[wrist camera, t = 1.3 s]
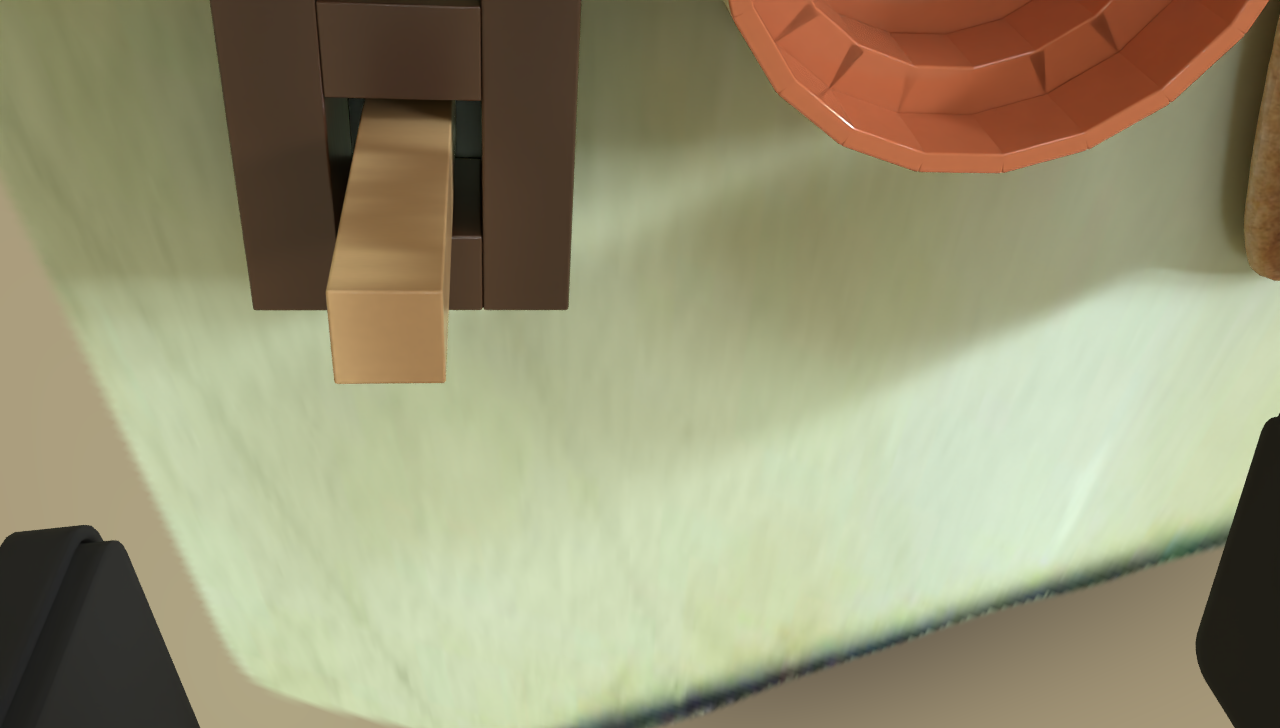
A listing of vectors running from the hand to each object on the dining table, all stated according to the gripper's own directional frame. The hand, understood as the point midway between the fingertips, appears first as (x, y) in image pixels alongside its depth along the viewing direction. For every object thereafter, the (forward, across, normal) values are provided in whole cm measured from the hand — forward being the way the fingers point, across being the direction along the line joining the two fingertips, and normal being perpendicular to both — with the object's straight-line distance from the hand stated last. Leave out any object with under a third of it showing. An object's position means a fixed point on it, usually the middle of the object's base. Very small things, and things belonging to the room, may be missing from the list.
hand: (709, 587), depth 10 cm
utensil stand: (+27, +5, +3) cm, 28 cm away
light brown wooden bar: (+27, +5, +6) cm, 29 cm away
